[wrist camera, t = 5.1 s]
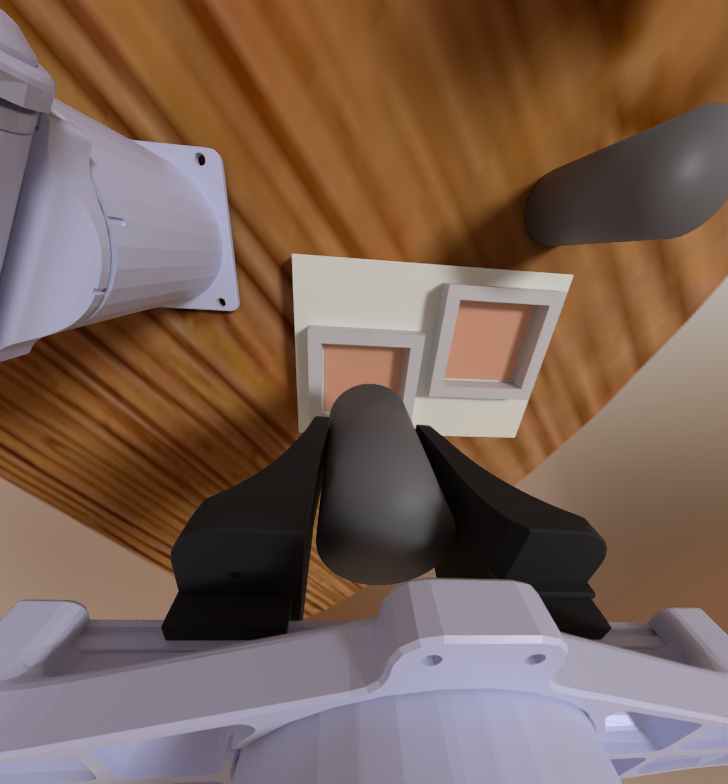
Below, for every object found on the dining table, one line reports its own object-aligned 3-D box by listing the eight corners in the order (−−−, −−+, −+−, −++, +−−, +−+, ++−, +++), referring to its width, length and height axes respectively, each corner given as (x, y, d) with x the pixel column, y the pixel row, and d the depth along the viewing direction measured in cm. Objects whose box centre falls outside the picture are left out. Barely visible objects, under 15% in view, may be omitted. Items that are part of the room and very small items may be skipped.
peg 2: (515, 243, 17) (614, 234, 11) (537, 162, 15) (669, 95, 9) (576, 248, 17) (706, 242, 11) (604, 169, 16) (775, 110, 9)
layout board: (301, 423, 22) (296, 441, 20) (295, 253, 17) (287, 253, 14) (507, 429, 23) (523, 446, 21) (560, 273, 18) (589, 276, 16)
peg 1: (325, 447, 15) (310, 582, 8) (333, 379, 13) (323, 480, 7) (398, 454, 15) (435, 587, 9) (414, 388, 14) (473, 492, 7)
